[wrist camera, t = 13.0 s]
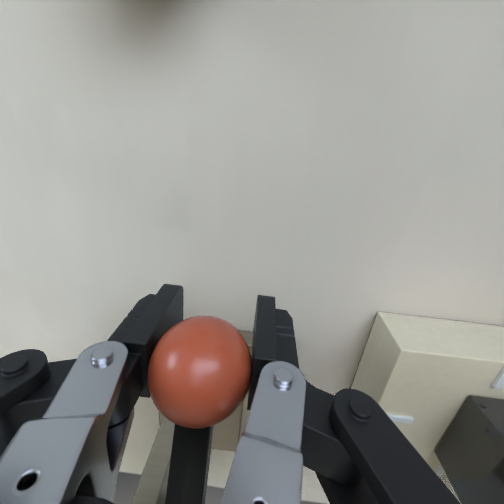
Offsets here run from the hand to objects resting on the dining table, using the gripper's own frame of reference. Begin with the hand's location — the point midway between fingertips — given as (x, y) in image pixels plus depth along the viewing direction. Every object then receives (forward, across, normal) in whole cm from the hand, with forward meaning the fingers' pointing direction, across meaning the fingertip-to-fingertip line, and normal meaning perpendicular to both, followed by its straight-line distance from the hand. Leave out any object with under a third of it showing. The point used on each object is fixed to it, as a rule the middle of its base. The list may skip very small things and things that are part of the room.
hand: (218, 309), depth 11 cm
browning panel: (+4, -14, +6) cm, 15 cm away
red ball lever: (-4, 0, +5) cm, 6 cm away
